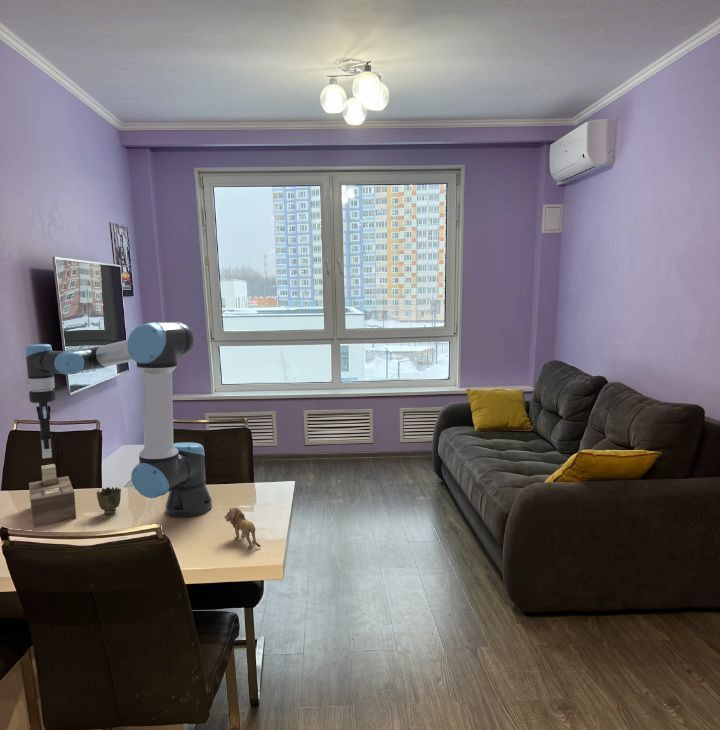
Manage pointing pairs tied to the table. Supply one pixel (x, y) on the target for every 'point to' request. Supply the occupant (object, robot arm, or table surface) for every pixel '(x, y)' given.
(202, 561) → the table surface
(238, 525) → the lion figurine
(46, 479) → the peg
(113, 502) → the cup
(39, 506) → the wooden box
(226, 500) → the table surface
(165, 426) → the robot arm
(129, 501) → the table surface
